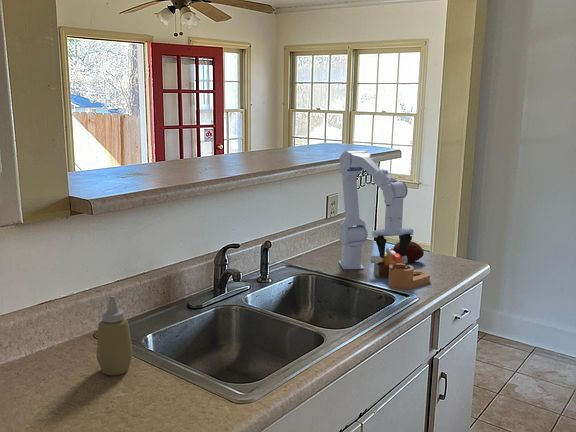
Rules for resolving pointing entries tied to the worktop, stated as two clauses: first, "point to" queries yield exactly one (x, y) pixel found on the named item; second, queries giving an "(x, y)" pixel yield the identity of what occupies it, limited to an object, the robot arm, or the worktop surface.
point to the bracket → (406, 276)
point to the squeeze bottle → (114, 341)
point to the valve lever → (394, 255)
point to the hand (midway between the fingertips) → (392, 256)
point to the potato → (410, 251)
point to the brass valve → (384, 265)
